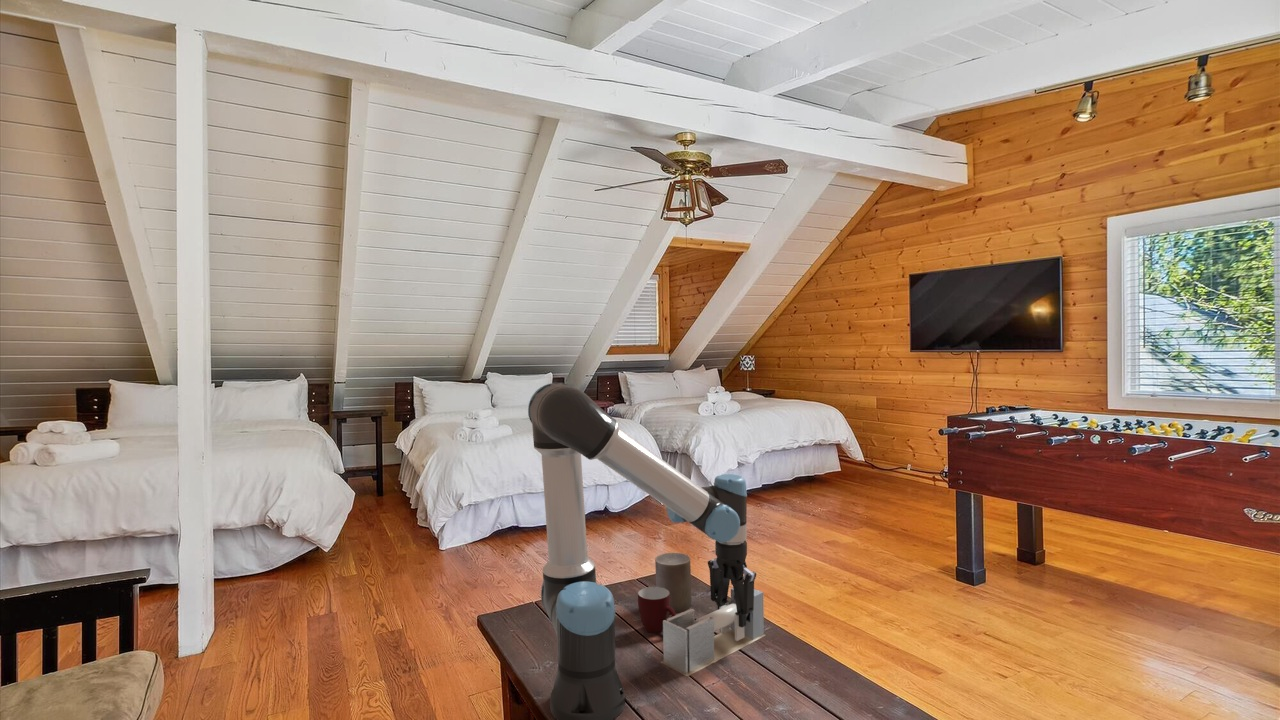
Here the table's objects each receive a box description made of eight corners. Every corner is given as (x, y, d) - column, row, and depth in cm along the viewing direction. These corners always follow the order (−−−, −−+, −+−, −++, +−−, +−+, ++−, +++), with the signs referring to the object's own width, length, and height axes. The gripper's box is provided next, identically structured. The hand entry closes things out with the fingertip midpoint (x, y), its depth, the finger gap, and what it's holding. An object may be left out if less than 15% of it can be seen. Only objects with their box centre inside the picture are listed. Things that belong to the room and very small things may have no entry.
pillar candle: (697, 604, 180) (696, 551, 180) (681, 618, 172) (679, 562, 171) (667, 598, 185) (665, 545, 185) (649, 610, 177) (647, 556, 177)
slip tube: (708, 643, 149) (707, 620, 148) (691, 635, 153) (691, 613, 152) (757, 618, 161) (757, 598, 160) (741, 612, 164) (741, 591, 164)
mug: (684, 630, 165) (684, 592, 164) (670, 644, 158) (669, 604, 158) (648, 622, 170) (647, 584, 170) (632, 635, 163) (631, 595, 163)
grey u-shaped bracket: (685, 674, 143) (685, 631, 142) (663, 662, 148) (663, 620, 148) (714, 659, 149) (713, 618, 148) (692, 648, 154) (691, 608, 154)
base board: (687, 680, 142) (687, 676, 142) (660, 665, 148) (660, 662, 148) (766, 638, 160) (765, 635, 160) (739, 627, 167) (739, 623, 167)
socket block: (753, 639, 158) (752, 597, 158) (731, 629, 163) (730, 588, 163) (763, 634, 161) (763, 592, 160) (741, 624, 166) (741, 584, 165)
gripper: (769, 544, 153) (770, 642, 154) (714, 528, 166) (716, 619, 167) (749, 552, 148) (750, 653, 149) (694, 535, 161) (695, 628, 162)
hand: (732, 635), depth 158 cm, fingers closed on slip tube, 4 cm apart
